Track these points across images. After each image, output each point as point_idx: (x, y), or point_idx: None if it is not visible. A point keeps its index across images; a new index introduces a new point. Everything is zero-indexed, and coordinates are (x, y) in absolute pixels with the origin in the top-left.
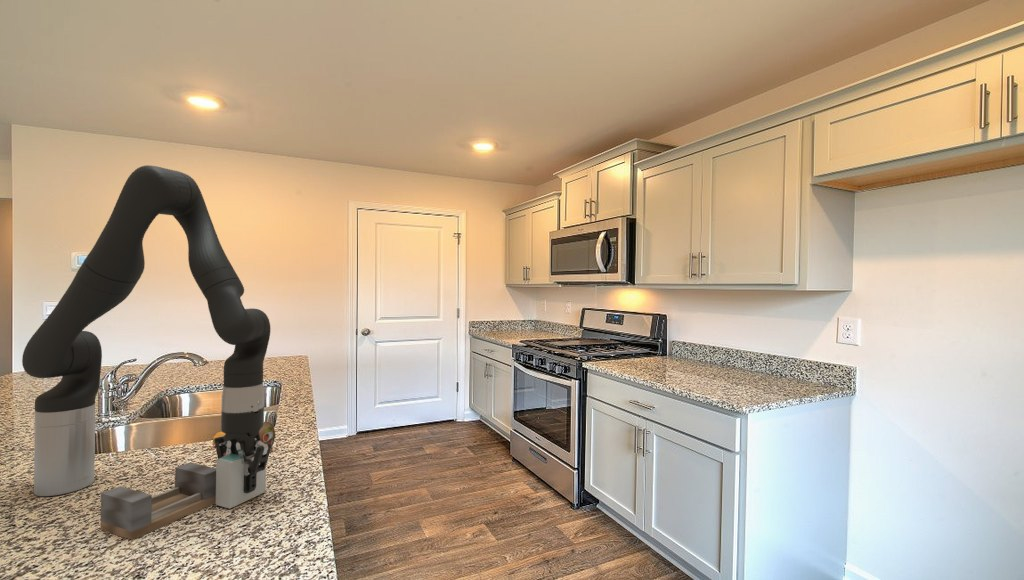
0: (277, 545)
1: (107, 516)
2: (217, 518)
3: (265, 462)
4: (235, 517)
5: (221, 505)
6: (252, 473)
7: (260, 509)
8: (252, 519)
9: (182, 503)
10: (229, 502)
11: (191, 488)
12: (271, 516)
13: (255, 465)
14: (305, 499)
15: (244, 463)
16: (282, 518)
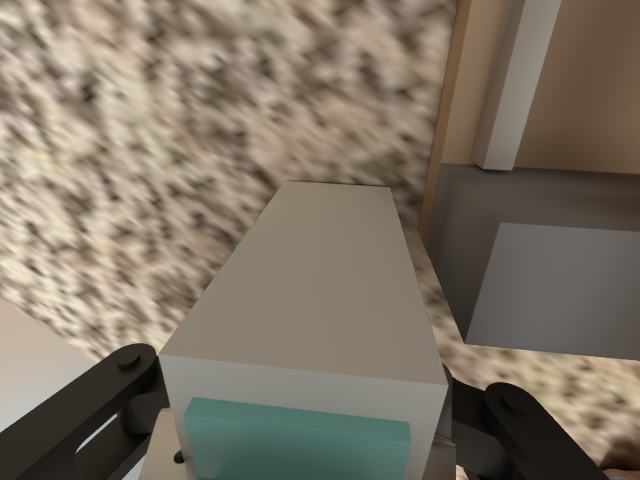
0: None
1: None
2: (265, 94)
3: (78, 456)
4: (197, 137)
5: (345, 185)
6: (142, 347)
7: (174, 230)
8: (114, 151)
9: (513, 28)
10: (281, 190)
11: (603, 185)
12: (76, 200)
13: (59, 402)
14: (109, 336)
15: (164, 408)
16: (25, 202)
